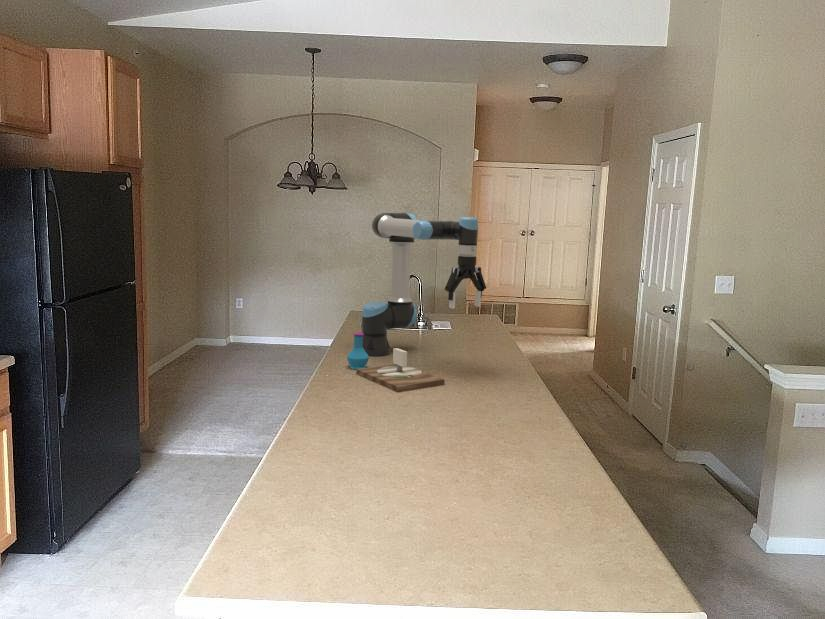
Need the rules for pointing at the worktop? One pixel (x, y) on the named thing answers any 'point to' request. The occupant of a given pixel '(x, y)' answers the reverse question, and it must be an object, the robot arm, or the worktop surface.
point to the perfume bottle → (358, 353)
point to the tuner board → (400, 377)
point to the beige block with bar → (398, 360)
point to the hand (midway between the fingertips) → (464, 307)
